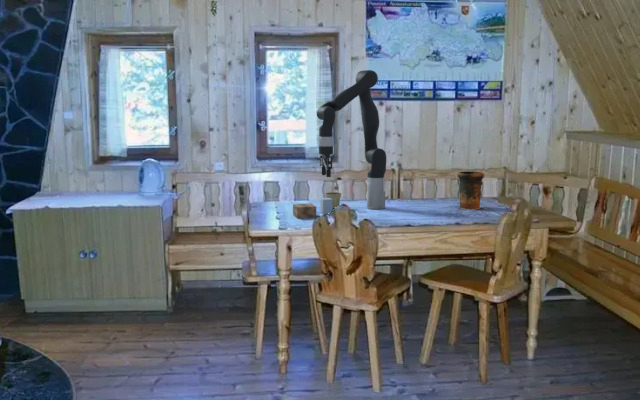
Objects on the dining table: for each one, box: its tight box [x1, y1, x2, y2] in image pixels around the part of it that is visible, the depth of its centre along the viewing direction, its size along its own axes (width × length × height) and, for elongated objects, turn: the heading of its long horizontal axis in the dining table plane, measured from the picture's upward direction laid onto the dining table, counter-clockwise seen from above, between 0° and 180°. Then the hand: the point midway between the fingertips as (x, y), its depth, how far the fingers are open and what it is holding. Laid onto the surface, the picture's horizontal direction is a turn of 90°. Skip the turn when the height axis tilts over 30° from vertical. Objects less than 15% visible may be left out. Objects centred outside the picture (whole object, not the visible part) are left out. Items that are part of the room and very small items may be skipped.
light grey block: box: [319, 197, 333, 216], centre depth 338 cm, size 5×5×8 cm
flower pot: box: [324, 191, 343, 210], centre depth 352 cm, size 9×9×9 cm
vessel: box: [457, 170, 485, 211], centre depth 353 cm, size 14×14×20 cm
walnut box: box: [292, 202, 317, 219], centre depth 330 cm, size 10×10×6 cm
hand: (326, 176), depth 335 cm, fingers open, 8 cm apart
